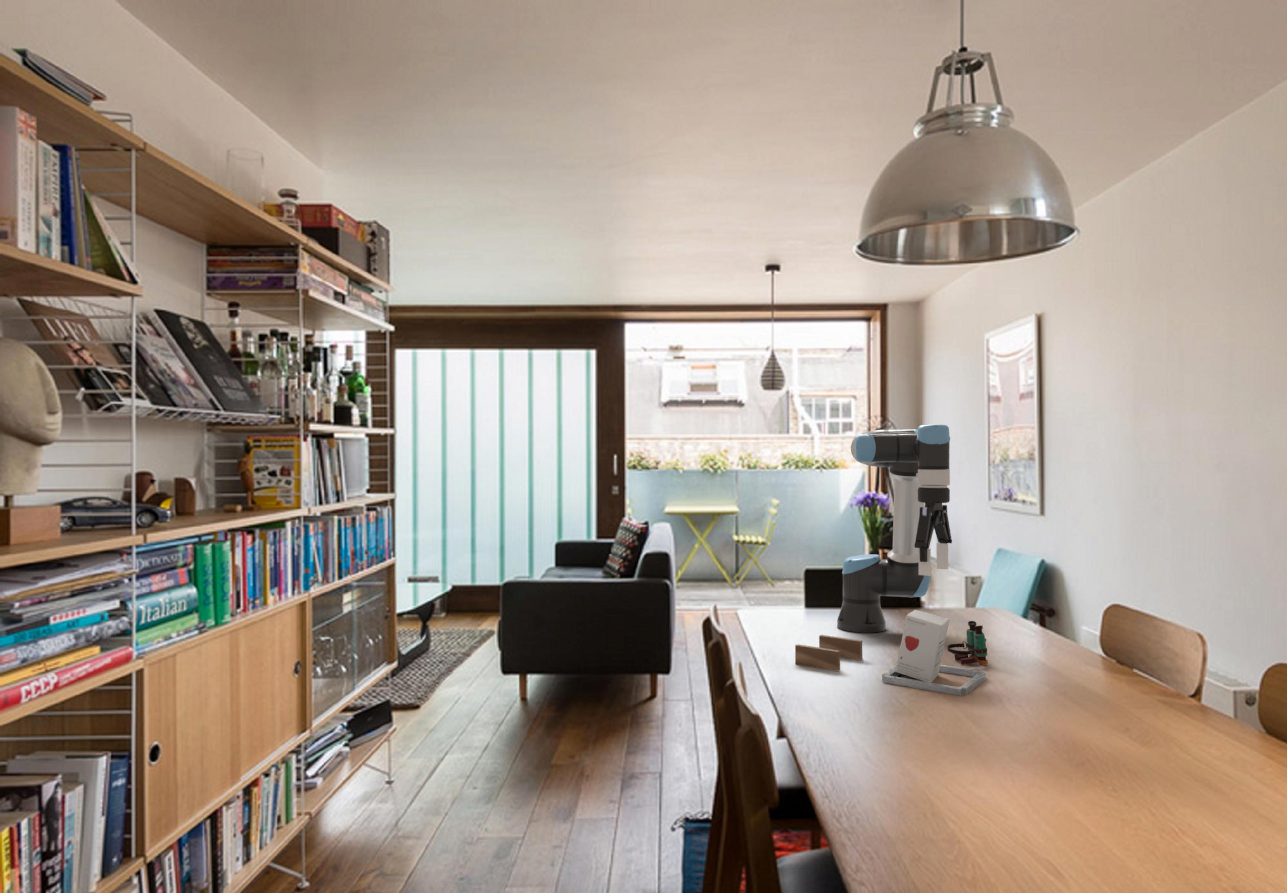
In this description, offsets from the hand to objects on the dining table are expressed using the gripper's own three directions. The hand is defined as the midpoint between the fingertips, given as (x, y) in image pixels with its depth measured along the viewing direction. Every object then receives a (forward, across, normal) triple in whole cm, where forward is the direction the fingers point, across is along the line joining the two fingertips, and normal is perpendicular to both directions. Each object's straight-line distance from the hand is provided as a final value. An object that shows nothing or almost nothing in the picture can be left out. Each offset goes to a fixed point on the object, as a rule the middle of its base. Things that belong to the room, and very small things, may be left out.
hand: (933, 572), depth 206 cm
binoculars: (+27, -23, +2) cm, 35 cm away
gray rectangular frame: (+27, 0, 0) cm, 27 cm away
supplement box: (+26, 0, -4) cm, 26 cm away
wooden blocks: (+27, -1, -28) cm, 39 cm away
